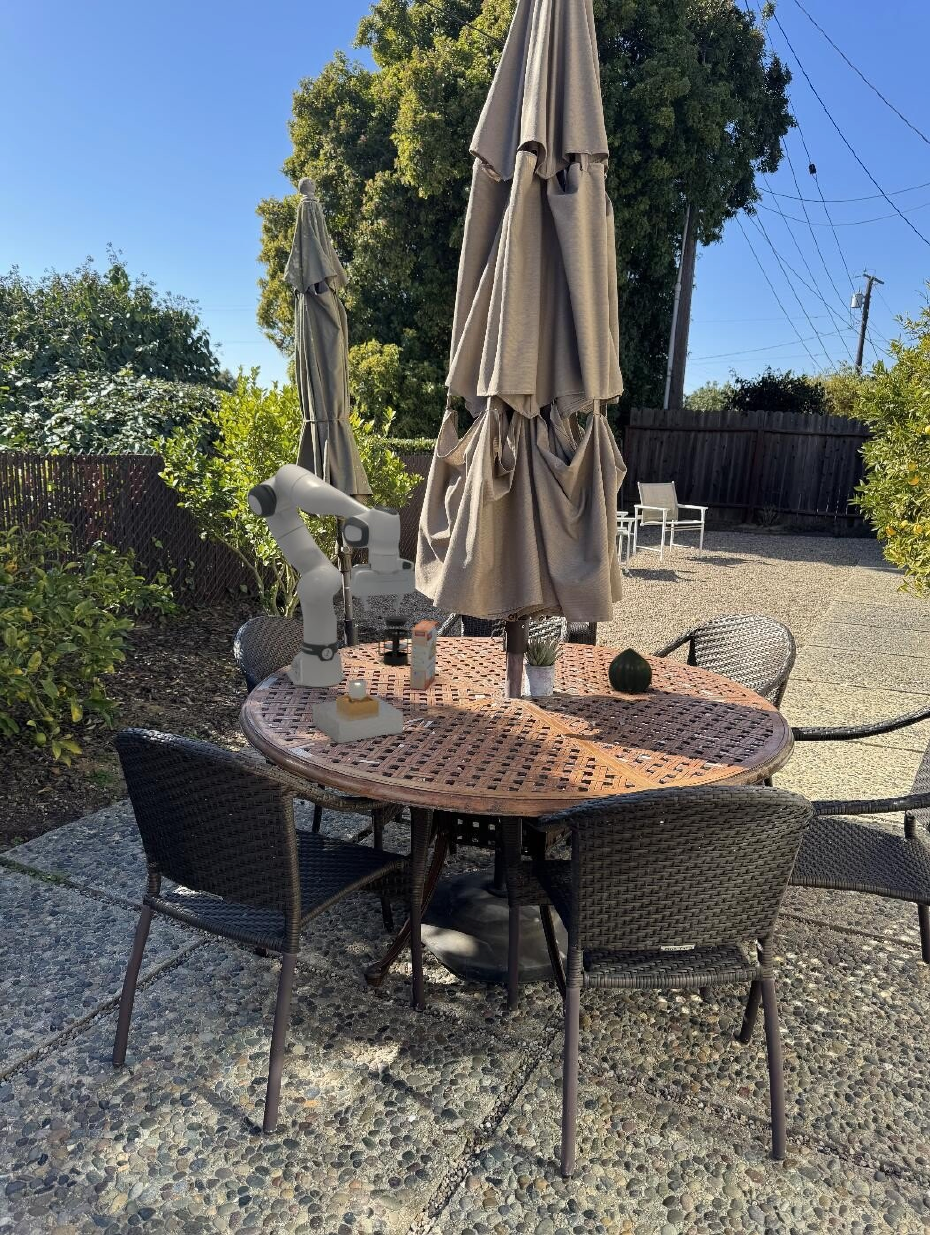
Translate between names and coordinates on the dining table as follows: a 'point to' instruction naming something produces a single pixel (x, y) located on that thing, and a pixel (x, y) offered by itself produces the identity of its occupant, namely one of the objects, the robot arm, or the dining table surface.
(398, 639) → the french press
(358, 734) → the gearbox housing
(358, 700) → the clear glass cup
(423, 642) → the cracker box
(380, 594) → the robot arm
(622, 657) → the squash
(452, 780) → the dining table surface
